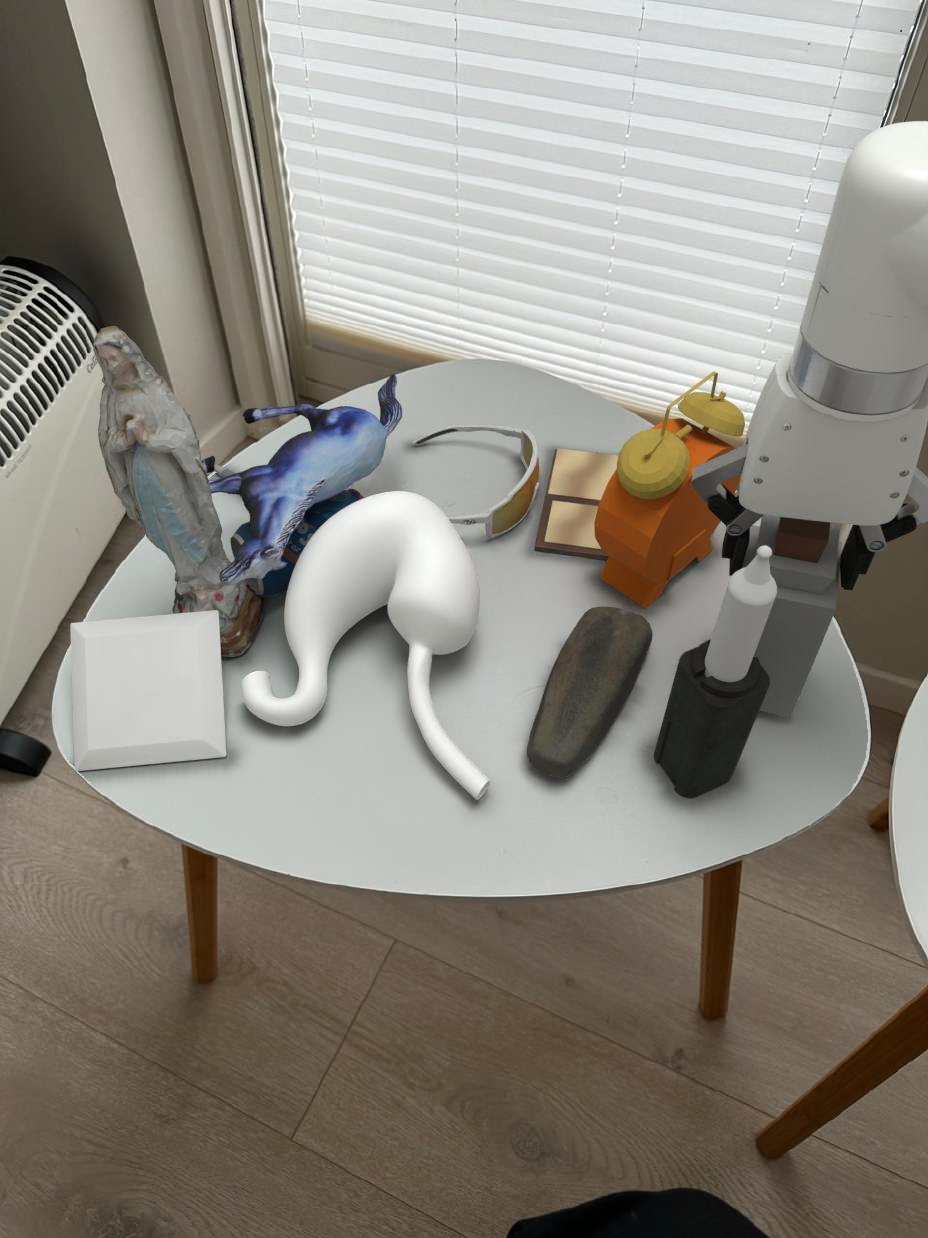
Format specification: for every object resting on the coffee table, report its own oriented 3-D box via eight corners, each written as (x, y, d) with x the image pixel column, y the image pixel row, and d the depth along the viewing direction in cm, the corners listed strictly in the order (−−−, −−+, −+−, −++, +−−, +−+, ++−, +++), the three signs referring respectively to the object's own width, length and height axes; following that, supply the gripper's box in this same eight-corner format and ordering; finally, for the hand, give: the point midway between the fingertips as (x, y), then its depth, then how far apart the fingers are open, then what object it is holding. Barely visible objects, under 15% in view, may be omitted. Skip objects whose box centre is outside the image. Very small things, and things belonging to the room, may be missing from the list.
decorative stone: (586, 614, 84) (590, 584, 81) (655, 638, 82) (662, 608, 79) (508, 766, 74) (510, 739, 71) (584, 797, 72) (589, 770, 69)
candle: (647, 751, 75) (704, 532, 55) (701, 727, 76) (775, 506, 57) (683, 803, 72) (756, 592, 52) (738, 777, 73) (829, 562, 54)
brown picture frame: (624, 461, 96) (625, 456, 96) (610, 560, 88) (611, 555, 87) (555, 453, 97) (555, 447, 97) (534, 550, 89) (534, 545, 88)
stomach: (235, 702, 83) (449, 864, 76) (177, 653, 71) (425, 840, 64) (392, 511, 89) (605, 645, 82) (362, 434, 77) (611, 584, 69)
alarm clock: (672, 510, 92) (710, 334, 76) (724, 542, 89) (774, 366, 73) (583, 583, 86) (604, 409, 70) (636, 620, 83) (670, 447, 68)
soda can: (235, 523, 79) (358, 474, 84) (221, 535, 86) (337, 490, 90) (269, 598, 80) (389, 546, 85) (253, 605, 86) (366, 556, 91)
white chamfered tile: (69, 771, 73) (91, 771, 78) (223, 756, 74) (236, 757, 79) (65, 620, 75) (86, 630, 80) (215, 607, 76) (228, 617, 81)
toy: (120, 509, 78) (227, 558, 69) (344, 331, 90) (460, 354, 81) (164, 574, 83) (269, 627, 75) (370, 398, 95) (481, 426, 86)
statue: (164, 649, 82) (36, 361, 59) (197, 586, 86) (90, 296, 63) (244, 663, 81) (146, 376, 57) (274, 599, 85) (194, 308, 62)
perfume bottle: (717, 635, 81) (760, 479, 67) (798, 653, 79) (859, 496, 65) (705, 698, 77) (748, 545, 63) (790, 717, 75) (854, 565, 61)
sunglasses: (521, 555, 88) (515, 516, 84) (375, 537, 93) (363, 500, 89) (558, 458, 96) (554, 418, 93) (423, 446, 101) (414, 408, 97)
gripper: (1010, 336, 55) (910, 546, 69) (708, 312, 58) (670, 519, 71) (1033, 417, 50) (921, 624, 64) (703, 387, 53) (663, 592, 67)
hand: (789, 567), depth 68 cm, fingers closed on perfume bottle, 7 cm apart
